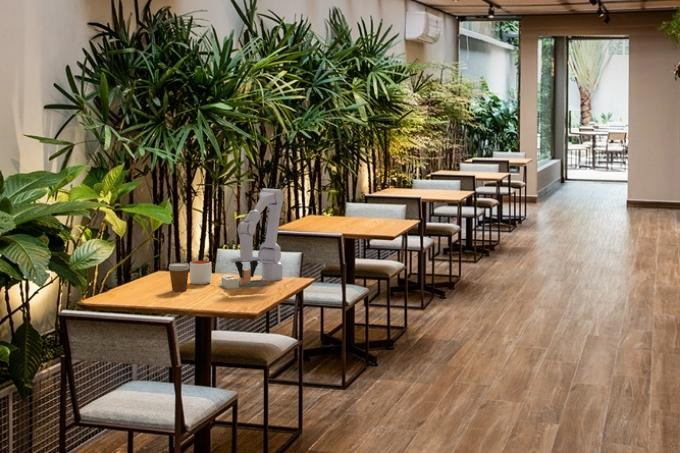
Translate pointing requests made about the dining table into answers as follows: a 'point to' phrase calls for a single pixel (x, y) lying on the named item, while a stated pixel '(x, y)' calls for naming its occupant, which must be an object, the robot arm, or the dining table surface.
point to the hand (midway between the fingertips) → (246, 277)
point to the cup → (200, 272)
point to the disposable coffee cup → (179, 276)
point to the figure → (245, 277)
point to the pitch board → (234, 283)
